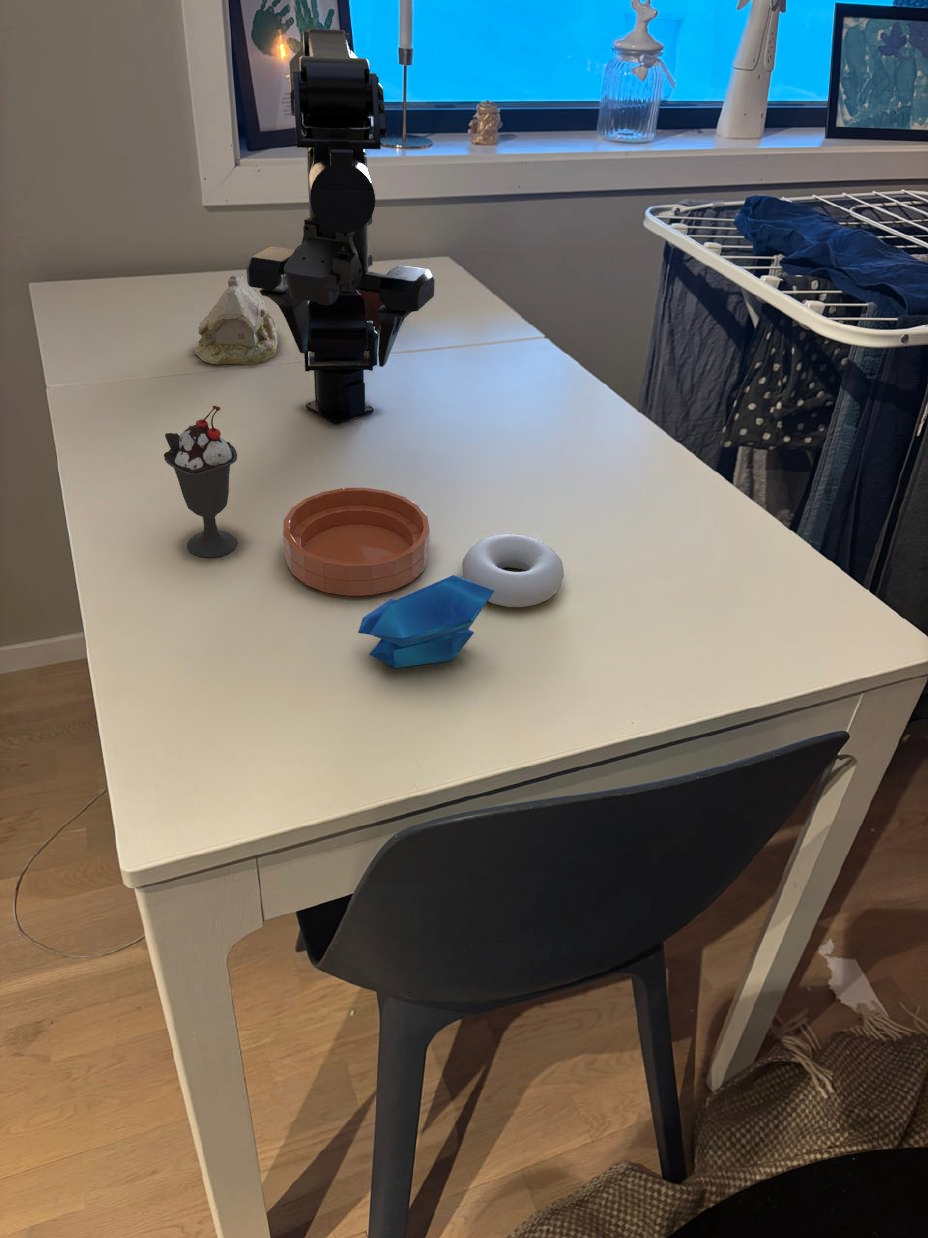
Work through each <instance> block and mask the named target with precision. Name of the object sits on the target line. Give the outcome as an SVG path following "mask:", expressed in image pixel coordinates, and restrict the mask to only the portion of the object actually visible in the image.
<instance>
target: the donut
mask: <svg viewBox="0 0 928 1238" xmlns="http://www.w3.org/2000/svg"><path fill="white" fill-rule="evenodd" d="M505 568H509V569H510V568H512V569H517V570H522V571H509V570H505ZM461 569H462V570H461V571H462V572H461V573H462V578H463V579H466V580H468V581H471V582H473V583H476V584H479V585H481V586H484V587H486V588H489V589H491V590H494V593H493V594H492V596H491V597H490V599H489V600H488V601H487V603H488V602H489V603H491V604H493V605H497V606H501V607H506V608H525V607H532V606H536V605H538V604H541V603H543V602H545V601H549V599H551V598H552V597H553V596H554V595H555V594H556V593H557V592H558V591H559V590H560V588H561V585H562V583H563V580H564V578H565V572H564V571H565V570H564V565H563V561H562V558H560V556H559V555H558V553H557V552H556V550H555V549H553V548H552V547H551V546H550V545H548V544H547V543H545V542H544V541H541V540H539V539H536V538H534V537H532V536H527V535H522V534H510V533H503V534H495V535H491V536H488V537H486V538H483V539H481V540H478V541H477V542H476V543H475V544H473V545H472V546H470V547H469V549H468V551H466V553H465V555H464V557H463V559H462V562H461Z"/></svg>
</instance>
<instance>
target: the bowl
mask: <svg viewBox="0 0 928 1238" xmlns="http://www.w3.org/2000/svg"><path fill="white" fill-rule="evenodd" d="M422 509H423V508H421V507H420V505H418V504H417V503H415V502H414V501H412V500H410V499H409V498H407V497H406V496H403V495H400V494H397V493H394V492H391V491H388V490H384V489H377V488H370V487H342V488H337V489H331V490H326V491H325V490H324V491H321V492H319V493H316V494H314V495H311V496H307V497H306V498H304V499H302V500H301V501H299V502H298V503H297V504H295V505H294V506H292V507H291V508H290V510H289V511H288V512H287V514H286V516H285V517H284V519H283V527H282V529H283V530H282V535H283V549H284V559H285V560H284V562H285V563H286V565H287V567H288V569H289V570H290V573H291V574H292V575H293V576H294V577H296V579H298V580H299V581H300V582H302V583H303V584H304V585H306V586H308V587H311V588H313V589H316V590H318V591H320V592H323V593H328V594H334V595H341V596H348V597H353V596H354V597H357V596H374V595H378V594H382V593H387V592H392V591H395V590H397V589H399V588H402V587H404V586H405V585H408V584H409V583H412V582H413V581H414V580H415V579H416V578H417V577H418V576H419V575H421V574H422V573H423V571H425V568H426V566H427V563H428V561H429V558H430V557H429V556H430V531H431V529H430V523H429V522H430V521H429V518H428V516H427V515H426V513H425V512H424V511H423V510H422Z"/></svg>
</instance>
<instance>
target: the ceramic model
mask: <svg viewBox="0 0 928 1238" xmlns="http://www.w3.org/2000/svg"><path fill="white" fill-rule="evenodd" d="M227 285H228V287H227V288H226V289H225V290H224V291H223V293H222V294H221V295H220V297H219V298H218V300H217V302H216V303H215V304H214V306H213V307H212V308H211V309H210V311H209V312H208V314H207V315H206V316H205V317H204V318H203V320H202V321H201V322H200V323H199V324H198V327H197V329H198V330H197V331H198V334H199V336H200V339H199V340H198V344H197V346H196V348H195V349H194V353H195V355H196V356H198V358H200V359H201V360H202V361H204V362H205V363H207V364H208V363H209V364H212V365H225V364H241V365H255V364H260V363H263V362H266V361H269V360H271V359H272V358H274V357H275V356H276V354H277V348H278V333H277V329H276V322H275V319H274V317H273V316H272V314H271V313H269V312H268V311H267V304H266V302H265V301H264V299H263V297H262V295H261V294H260V293H259V292H258V291H257V290H256V288H255V287H250V286H249V285H248V283H247V280H245V279H244V278H243V276H234V275H230V277H229V278H228V280H227Z"/></svg>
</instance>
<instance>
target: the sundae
mask: <svg viewBox="0 0 928 1238" xmlns="http://www.w3.org/2000/svg"><path fill="white" fill-rule="evenodd" d="M214 410H215V411H214ZM220 410H221V407H220V406H217V405H212V409H211V410H210V411H209V412H208V414H207V415H206V416H205V417H204V418H201V419H198V420H196V421H195V424H193V425H188V426H187V428H185V429H184V430H183V431H182V432H181V434H180V435H179V434H178V432H175V433H173V432H166V433H165V434H164V438H165V439H166V442H167V444H168V447H169V448H170V449H169V450H168V451H166V452H164V454H163V457H164V461H165V463H166V464H168V465H169V466H170V467H172V468H173V470H174V473H175V475H176V478H177V481H178V485H179V487H180V491H181V494H182V497H183V500H184V502H185V504H186V505H185V506H186V507H187V508H188V510H190V511H191V512H192V513H193V514H195V515H197V516H199V517H201V518H202V521H203V531H201V532H199V533H198V532H197V533H196V534H194V535H192V536H191V537H190V538H189V539H188V541H187V544H186V547H187V549H188V551H189V552H190V553H192V554H193V555H194V556H198V557H200V558H209V559H210V558H218V557H224V556H225V555H228V554H229V553H230V554H231V552H233V550H235V549H236V547H237V546H238V538H237V537H236V536H235V535H234V534H232V533H231V532H229V531H227V530H222V529H218V527H217V522H216V521H217V520H216V517H217V515H218V514H220V513H222V511H224V510H225V508H227V505H228V503H229V502H228V501H229V493H230V471H231V465H233V464H234V463H236V462H237V461H238V452H237V450H236V448H235V446H233V444H231V442H229V441H226V440H224V439H223V438H222V437H221V435H222V434H221V430H219V428H216V427H215V426H214V416H215V415H216V414H217V413H218V412H219V411H220ZM212 412H214V413H213V414H212ZM211 414H212V416H211V418H210V426H211V427H209V422H208V421H207V419H208V418H209V416H210V415H211Z"/></svg>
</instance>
